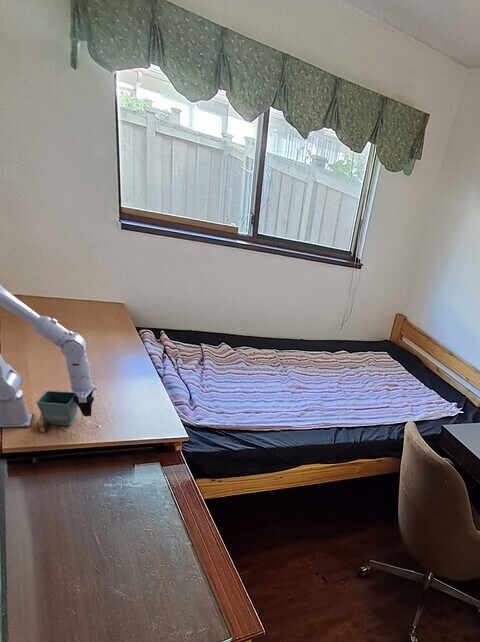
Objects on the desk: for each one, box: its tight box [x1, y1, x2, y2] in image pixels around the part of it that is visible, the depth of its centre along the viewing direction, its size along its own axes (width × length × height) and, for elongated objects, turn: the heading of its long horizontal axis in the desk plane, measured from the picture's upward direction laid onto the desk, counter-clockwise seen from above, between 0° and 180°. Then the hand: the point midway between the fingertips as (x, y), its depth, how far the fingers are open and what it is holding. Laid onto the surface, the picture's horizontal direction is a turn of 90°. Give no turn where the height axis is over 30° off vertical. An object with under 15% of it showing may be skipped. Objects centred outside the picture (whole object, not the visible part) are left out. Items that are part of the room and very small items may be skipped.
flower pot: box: [36, 390, 79, 426], centre depth 146 cm, size 9×9×9 cm
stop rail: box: [38, 413, 49, 433], centre depth 144 cm, size 2×8×3 cm, turn 27°
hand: (87, 411), depth 150 cm, fingers open, 4 cm apart
